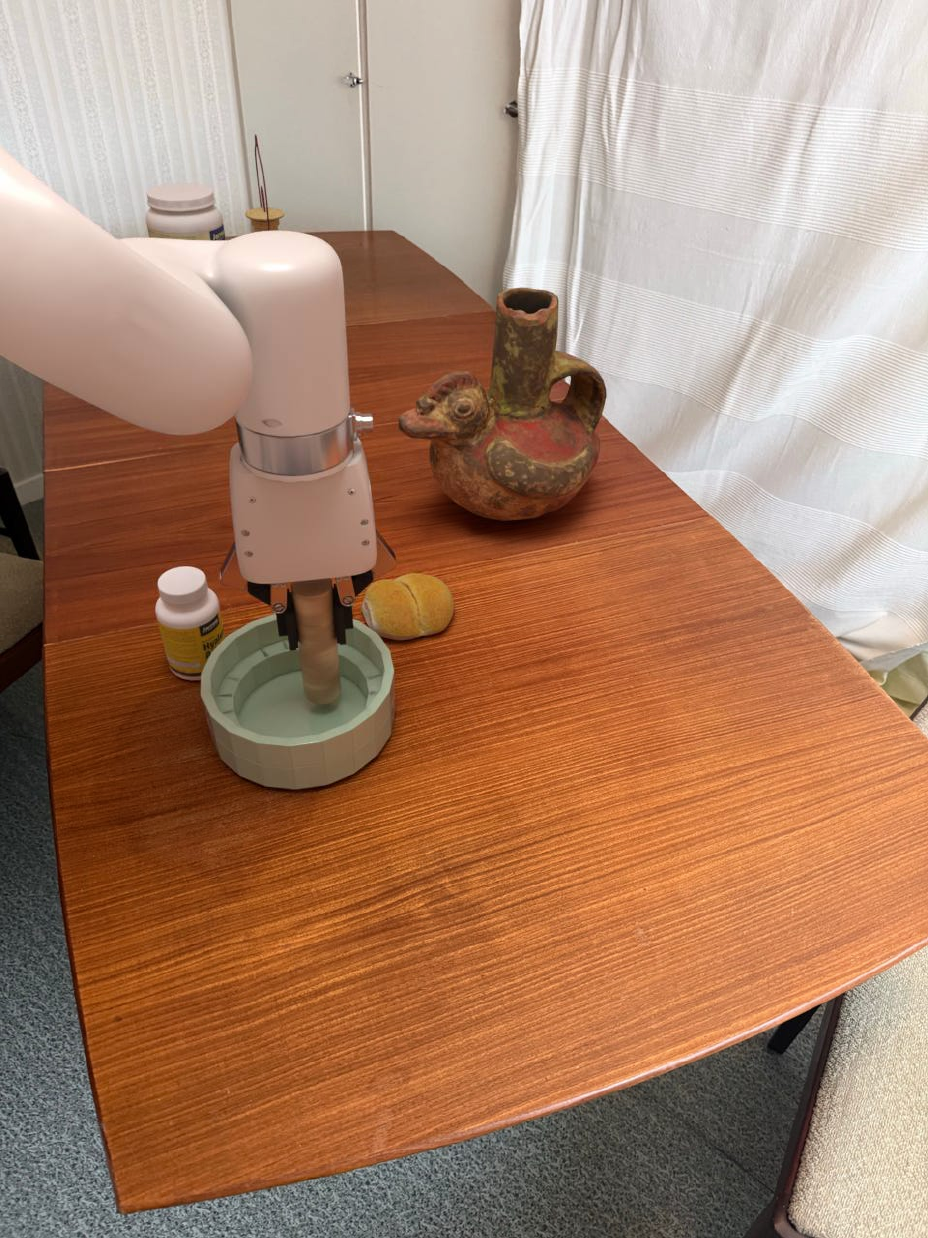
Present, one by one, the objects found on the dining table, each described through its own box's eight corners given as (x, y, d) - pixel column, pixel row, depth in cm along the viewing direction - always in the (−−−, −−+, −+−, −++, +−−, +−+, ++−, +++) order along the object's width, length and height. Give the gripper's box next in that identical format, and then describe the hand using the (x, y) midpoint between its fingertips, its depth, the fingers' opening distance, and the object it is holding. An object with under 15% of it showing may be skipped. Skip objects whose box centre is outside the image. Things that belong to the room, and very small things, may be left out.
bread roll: (465, 631, 82) (466, 600, 79) (378, 651, 79) (377, 620, 77) (436, 581, 88) (437, 551, 85) (354, 599, 85) (352, 568, 82)
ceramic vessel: (369, 502, 98) (360, 288, 82) (548, 451, 109) (572, 252, 92) (440, 582, 87) (446, 354, 71) (631, 517, 98) (675, 305, 81)
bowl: (212, 807, 65) (198, 758, 61) (213, 669, 77) (202, 620, 73) (407, 777, 68) (407, 729, 64) (381, 649, 80) (379, 601, 76)
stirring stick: (305, 706, 71) (291, 598, 63) (302, 680, 73) (289, 572, 65) (343, 702, 71) (334, 594, 63) (339, 675, 74) (330, 569, 66)
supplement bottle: (217, 686, 75) (198, 604, 69) (160, 678, 76) (136, 595, 69) (238, 646, 79) (222, 564, 73) (184, 638, 80) (163, 557, 73)
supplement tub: (235, 308, 141) (219, 200, 129) (160, 312, 138) (137, 202, 127) (233, 283, 150) (218, 179, 138) (162, 286, 147) (141, 181, 136)
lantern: (320, 370, 124) (302, 144, 104) (253, 376, 122) (221, 146, 102) (308, 338, 133) (290, 123, 113) (246, 342, 130) (215, 124, 111)
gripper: (408, 401, 60) (409, 596, 72) (170, 416, 57) (213, 617, 69) (426, 454, 54) (423, 656, 67) (164, 473, 51) (212, 681, 64)
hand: (316, 634), depth 68 cm, fingers closed on stirring stick, 3 cm apart
